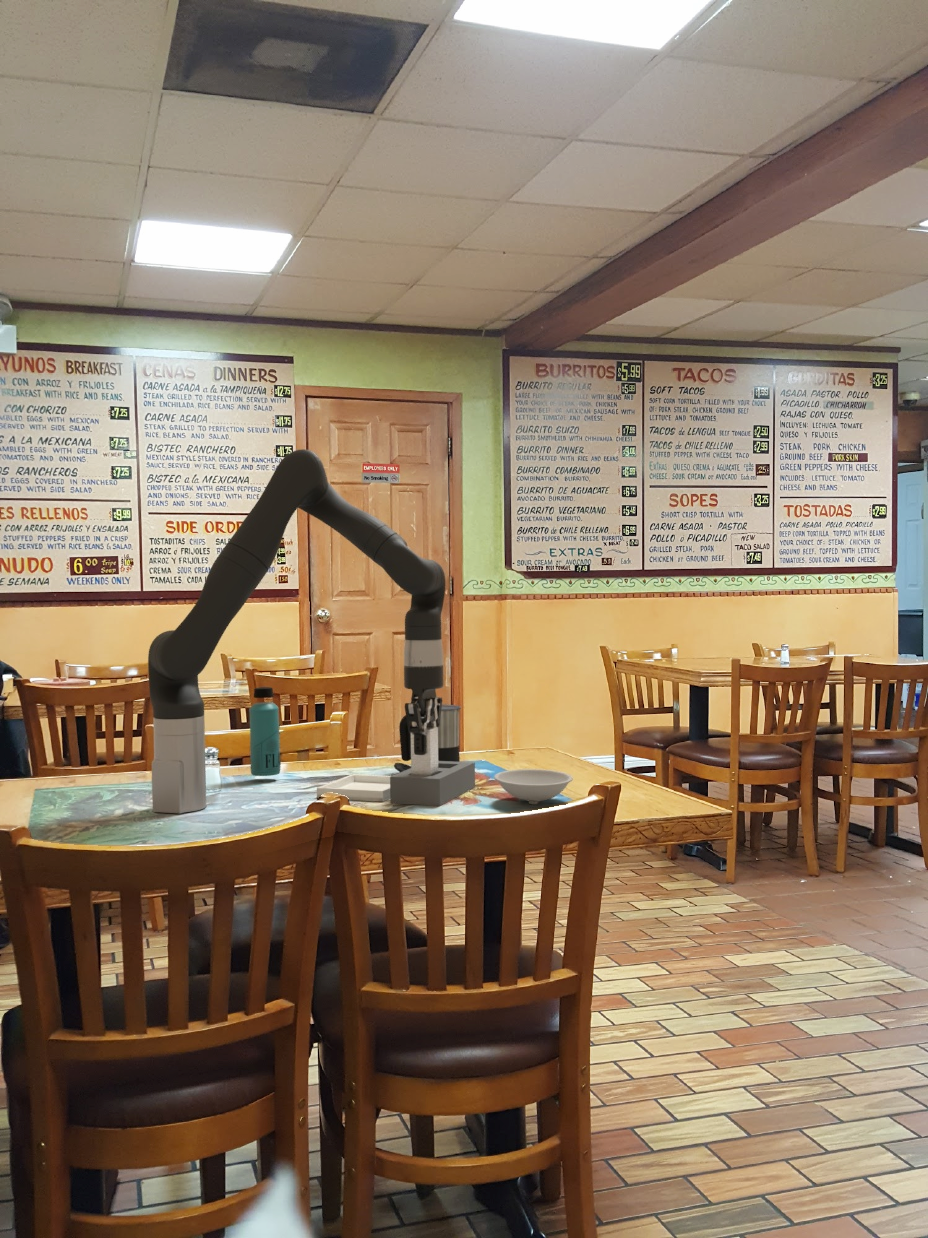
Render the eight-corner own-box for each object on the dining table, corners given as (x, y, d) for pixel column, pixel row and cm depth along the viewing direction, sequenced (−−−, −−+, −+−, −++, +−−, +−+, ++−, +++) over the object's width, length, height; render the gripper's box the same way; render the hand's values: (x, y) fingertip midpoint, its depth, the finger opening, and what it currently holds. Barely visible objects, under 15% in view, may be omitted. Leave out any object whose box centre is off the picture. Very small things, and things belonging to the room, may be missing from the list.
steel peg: (430, 787, 203) (430, 729, 202) (411, 786, 204) (410, 729, 204) (438, 784, 206) (437, 727, 206) (419, 783, 208) (418, 726, 208)
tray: (382, 801, 204) (382, 791, 204) (316, 798, 208) (316, 787, 208) (414, 786, 219) (414, 777, 219) (352, 783, 223) (352, 774, 223)
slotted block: (440, 806, 199) (439, 779, 199) (390, 803, 202) (390, 776, 202) (475, 787, 218) (474, 762, 217) (429, 784, 221) (428, 760, 221)
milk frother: (462, 770, 239) (461, 703, 239) (460, 782, 223) (459, 711, 223) (398, 771, 239) (397, 704, 239) (392, 783, 224) (391, 712, 223)
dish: (484, 797, 207) (484, 771, 207) (556, 792, 210) (555, 767, 210) (508, 815, 190) (508, 787, 190) (585, 810, 193) (585, 782, 193)
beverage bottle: (264, 784, 225) (262, 689, 224) (243, 781, 229) (241, 687, 228) (287, 779, 230) (285, 686, 229) (266, 776, 234) (264, 685, 233)
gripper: (428, 666, 197) (429, 759, 197) (454, 661, 210) (455, 748, 211) (390, 665, 199) (391, 757, 200) (419, 661, 213) (420, 747, 213)
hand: (424, 752), depth 205 cm, fingers closed on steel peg, 4 cm apart
